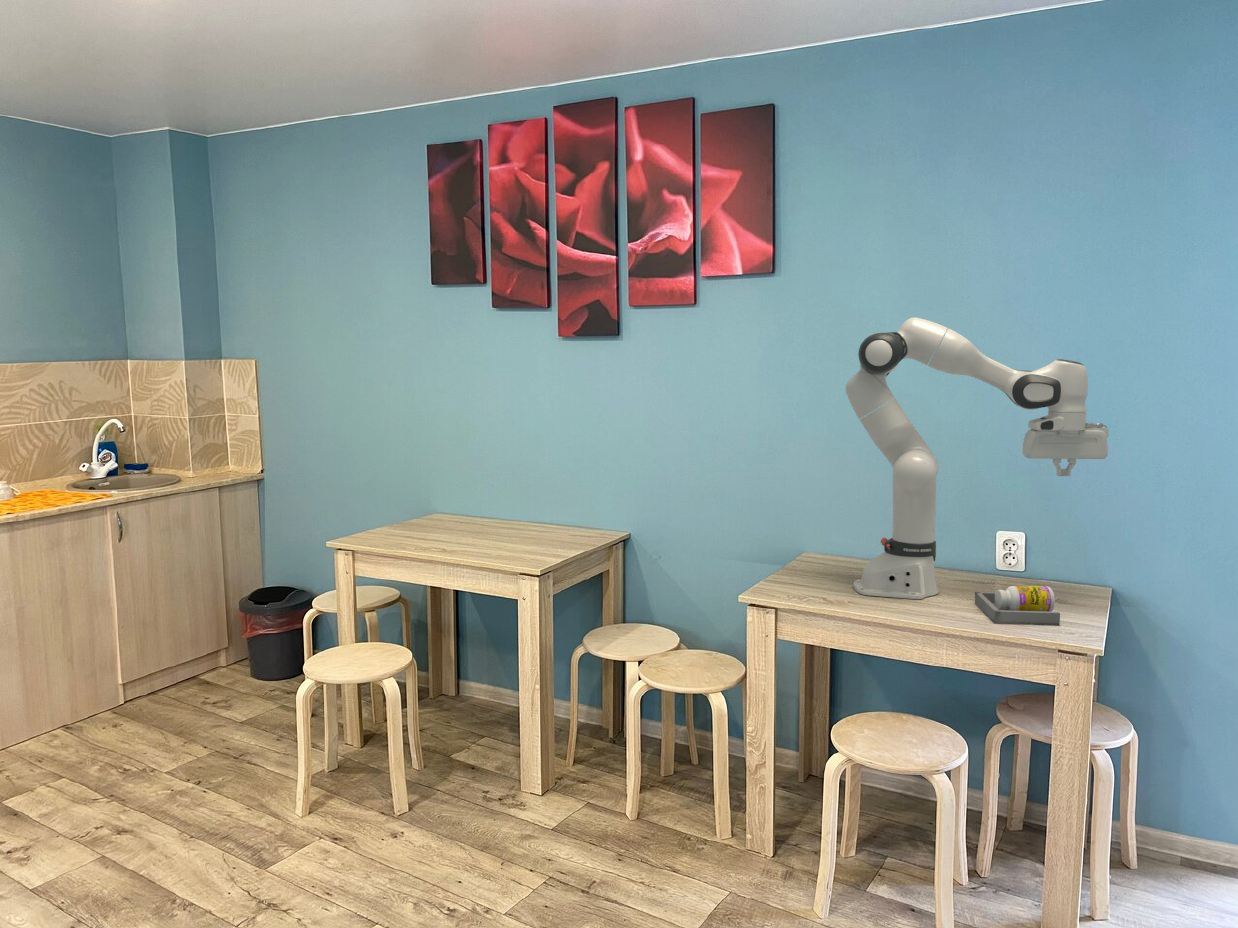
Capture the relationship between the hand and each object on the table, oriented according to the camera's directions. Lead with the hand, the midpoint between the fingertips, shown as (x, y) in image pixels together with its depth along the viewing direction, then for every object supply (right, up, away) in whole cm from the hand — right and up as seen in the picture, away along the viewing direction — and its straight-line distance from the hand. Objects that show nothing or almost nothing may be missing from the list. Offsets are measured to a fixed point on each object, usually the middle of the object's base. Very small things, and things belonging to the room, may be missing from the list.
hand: (1063, 476), depth 241 cm
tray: (-16, -35, -8) cm, 39 cm away
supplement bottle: (-7, -31, -9) cm, 33 cm away
